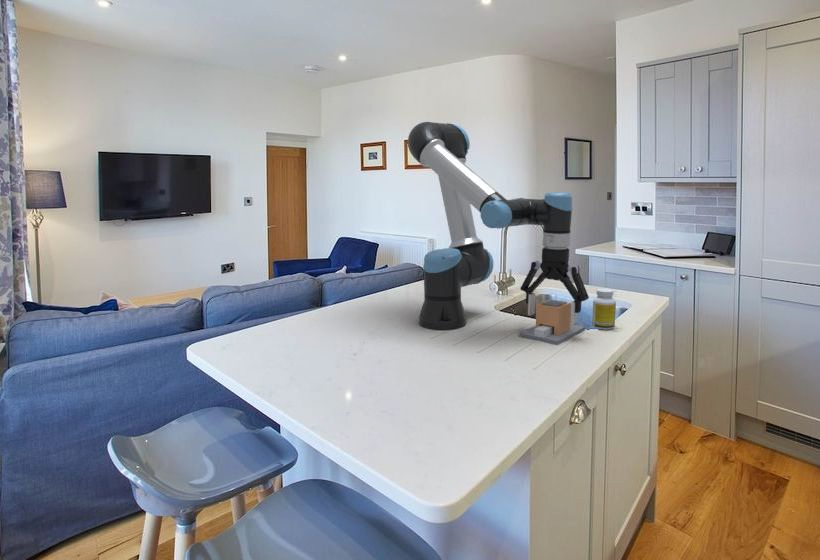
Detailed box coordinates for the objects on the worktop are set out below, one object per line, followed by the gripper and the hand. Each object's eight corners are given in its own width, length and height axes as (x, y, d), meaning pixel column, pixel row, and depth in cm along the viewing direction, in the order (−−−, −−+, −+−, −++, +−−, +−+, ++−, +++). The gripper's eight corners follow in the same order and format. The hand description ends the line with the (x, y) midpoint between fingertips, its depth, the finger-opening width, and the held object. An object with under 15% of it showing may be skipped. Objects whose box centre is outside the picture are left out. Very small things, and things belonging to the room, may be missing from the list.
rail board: (519, 336, 146) (519, 326, 145) (548, 323, 159) (548, 313, 158) (557, 344, 138) (558, 334, 137) (585, 329, 151) (585, 320, 150)
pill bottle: (616, 330, 150) (618, 292, 147) (593, 330, 151) (595, 292, 149) (612, 324, 156) (614, 288, 154) (590, 324, 157) (592, 287, 155)
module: (535, 330, 147) (536, 303, 146) (548, 324, 153) (549, 298, 152) (557, 335, 143) (558, 307, 141) (570, 329, 149) (571, 301, 147)
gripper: (510, 244, 149) (508, 313, 153) (593, 253, 133) (587, 330, 137) (523, 242, 154) (520, 308, 159) (604, 250, 138) (598, 324, 142)
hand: (551, 318), depth 148 cm, fingers open, 13 cm apart
